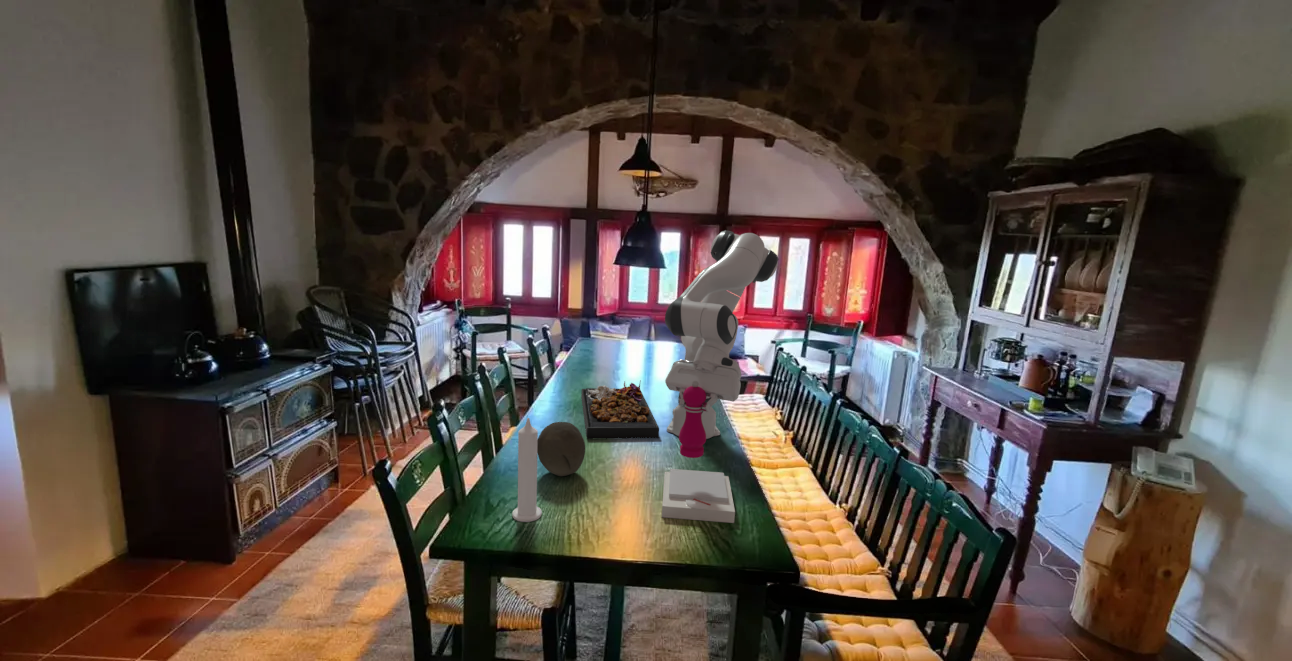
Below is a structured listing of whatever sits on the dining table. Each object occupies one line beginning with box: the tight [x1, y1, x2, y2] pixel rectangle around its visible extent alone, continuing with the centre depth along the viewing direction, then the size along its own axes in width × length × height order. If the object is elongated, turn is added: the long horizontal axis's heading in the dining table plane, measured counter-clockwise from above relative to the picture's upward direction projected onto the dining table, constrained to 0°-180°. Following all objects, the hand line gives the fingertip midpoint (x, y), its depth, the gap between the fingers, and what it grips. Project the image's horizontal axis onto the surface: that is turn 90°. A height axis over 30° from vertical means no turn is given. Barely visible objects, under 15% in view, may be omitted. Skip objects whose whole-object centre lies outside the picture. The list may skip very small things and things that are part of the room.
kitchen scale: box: [661, 468, 736, 524], centre depth 148 cm, size 20×18×4 cm
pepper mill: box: [678, 381, 707, 459], centre depth 146 cm, size 7×7×20 cm
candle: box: [511, 417, 543, 523], centre depth 134 cm, size 7×7×25 cm
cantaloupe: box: [537, 421, 586, 477], centre depth 159 cm, size 14×14×15 cm
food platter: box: [580, 380, 660, 440], centre depth 210 cm, size 45×25×10 cm, turn 9°
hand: (693, 408), depth 145 cm, fingers closed on pepper mill, 5 cm apart
